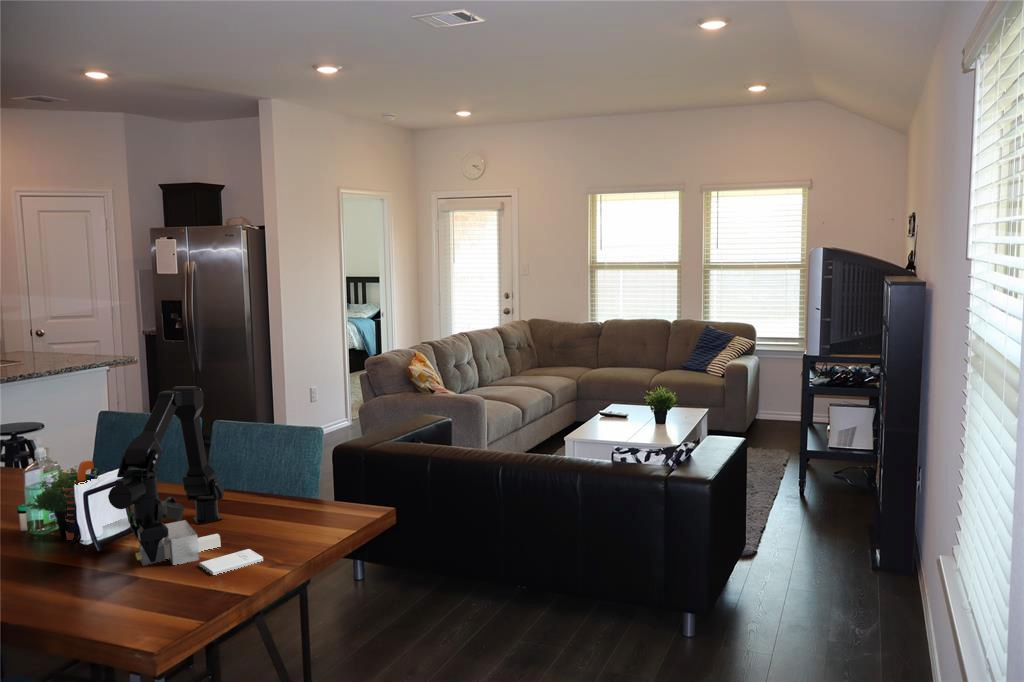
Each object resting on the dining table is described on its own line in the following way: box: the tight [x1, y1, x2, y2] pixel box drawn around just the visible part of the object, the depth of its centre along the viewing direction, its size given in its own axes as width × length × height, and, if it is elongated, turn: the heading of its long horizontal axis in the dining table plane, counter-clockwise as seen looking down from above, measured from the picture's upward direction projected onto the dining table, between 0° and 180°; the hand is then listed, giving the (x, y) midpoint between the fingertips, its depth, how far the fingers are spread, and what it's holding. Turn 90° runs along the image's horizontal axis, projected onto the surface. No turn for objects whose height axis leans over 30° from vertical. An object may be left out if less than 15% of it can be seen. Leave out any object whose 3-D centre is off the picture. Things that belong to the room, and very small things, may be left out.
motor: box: [61, 460, 99, 541], centre depth 217 cm, size 10×9×20 cm
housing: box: [161, 519, 200, 566], centre depth 202 cm, size 13×6×6 cm, turn 34°
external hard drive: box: [198, 548, 264, 576], centre depth 196 cm, size 2×8×12 cm
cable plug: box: [135, 533, 222, 567], centre depth 202 cm, size 20×4×4 cm, turn 124°
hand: (150, 557), depth 198 cm, fingers open, 7 cm apart
